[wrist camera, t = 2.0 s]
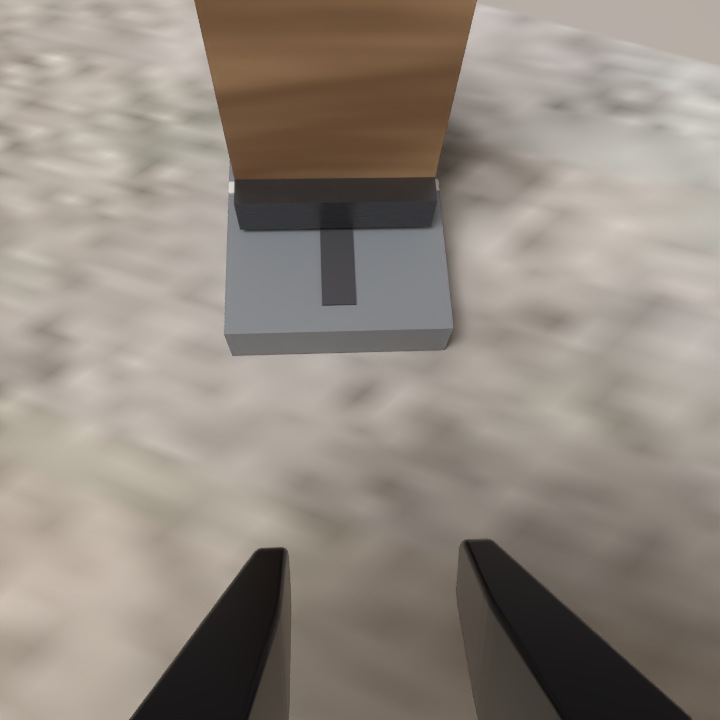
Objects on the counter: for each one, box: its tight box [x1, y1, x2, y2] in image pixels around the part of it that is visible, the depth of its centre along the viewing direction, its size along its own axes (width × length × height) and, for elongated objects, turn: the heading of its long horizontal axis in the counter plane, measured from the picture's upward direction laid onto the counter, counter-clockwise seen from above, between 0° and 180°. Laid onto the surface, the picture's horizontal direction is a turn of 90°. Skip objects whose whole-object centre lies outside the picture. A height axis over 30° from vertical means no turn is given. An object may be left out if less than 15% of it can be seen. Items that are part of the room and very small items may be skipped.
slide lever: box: [194, 0, 477, 230], centre depth 19 cm, size 4×7×12 cm, turn 93°
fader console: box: [224, 162, 454, 356], centre depth 26 cm, size 15×8×2 cm, turn 3°
